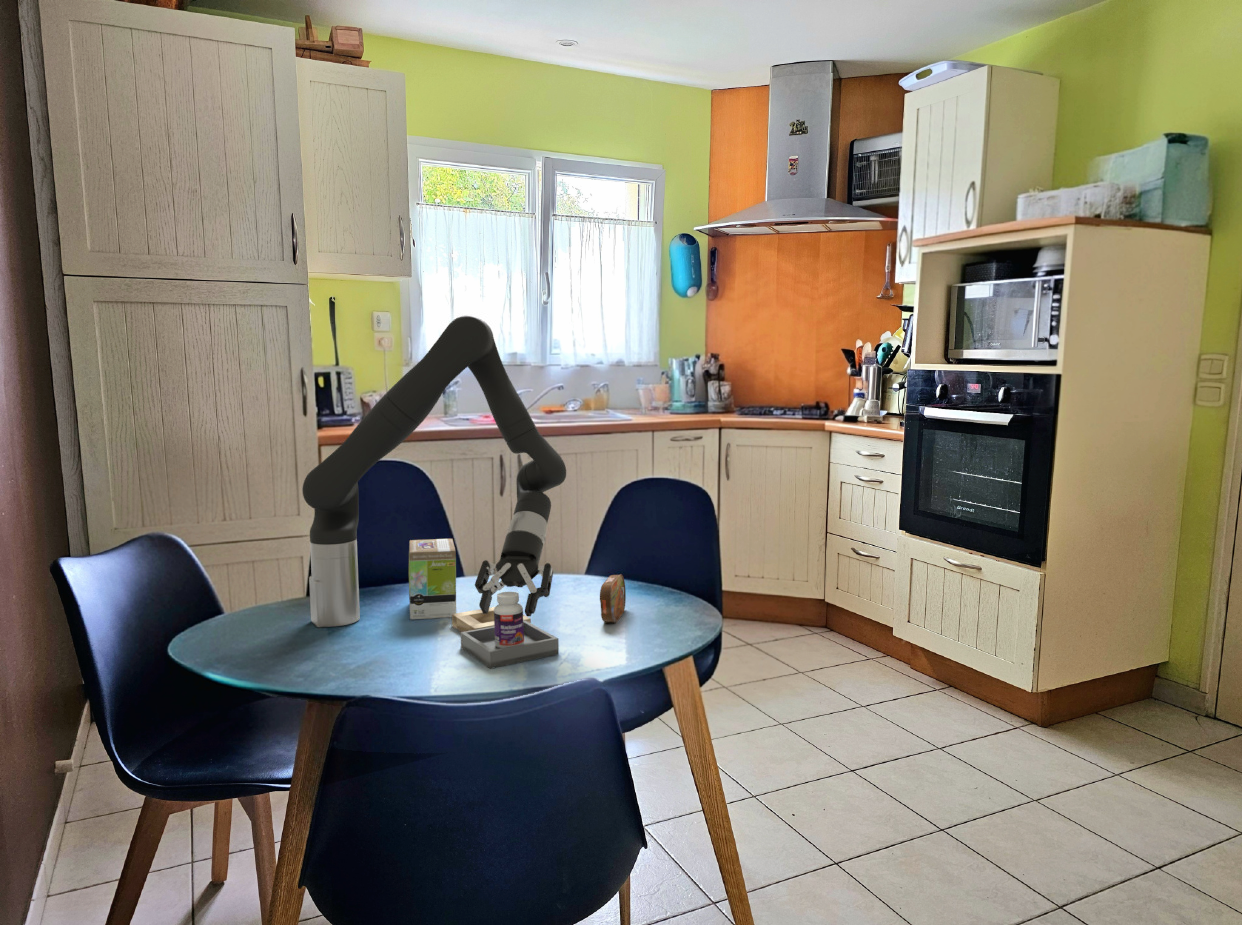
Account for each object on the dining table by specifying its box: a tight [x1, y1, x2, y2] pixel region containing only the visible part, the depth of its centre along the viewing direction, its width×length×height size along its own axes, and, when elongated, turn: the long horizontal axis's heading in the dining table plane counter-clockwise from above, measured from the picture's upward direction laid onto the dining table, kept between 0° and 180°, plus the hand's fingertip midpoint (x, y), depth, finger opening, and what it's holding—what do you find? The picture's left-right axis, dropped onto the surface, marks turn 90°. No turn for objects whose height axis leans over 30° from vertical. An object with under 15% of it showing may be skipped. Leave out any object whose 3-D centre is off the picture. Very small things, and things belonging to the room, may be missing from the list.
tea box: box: [408, 538, 457, 620], centre depth 181 cm, size 15×10×15 cm, turn 14°
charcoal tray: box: [460, 621, 560, 670], centre depth 153 cm, size 14×14×3 cm
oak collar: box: [451, 606, 532, 633], centre depth 167 cm, size 12×12×2 cm
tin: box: [599, 574, 627, 624], centre depth 175 cm, size 15×3×8 cm, turn 168°
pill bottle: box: [494, 591, 524, 648], centre depth 153 cm, size 5×5×10 cm
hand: (505, 613), depth 151 cm, fingers open, 8 cm apart
